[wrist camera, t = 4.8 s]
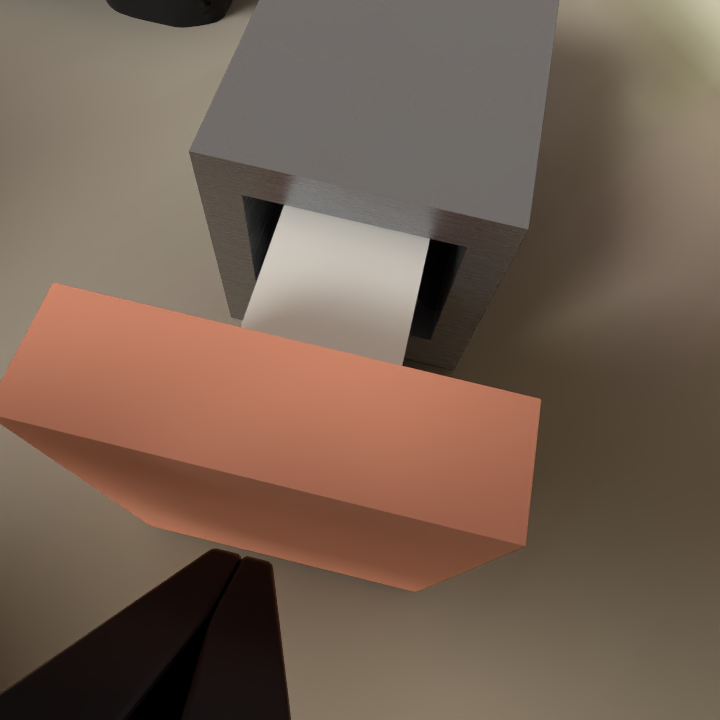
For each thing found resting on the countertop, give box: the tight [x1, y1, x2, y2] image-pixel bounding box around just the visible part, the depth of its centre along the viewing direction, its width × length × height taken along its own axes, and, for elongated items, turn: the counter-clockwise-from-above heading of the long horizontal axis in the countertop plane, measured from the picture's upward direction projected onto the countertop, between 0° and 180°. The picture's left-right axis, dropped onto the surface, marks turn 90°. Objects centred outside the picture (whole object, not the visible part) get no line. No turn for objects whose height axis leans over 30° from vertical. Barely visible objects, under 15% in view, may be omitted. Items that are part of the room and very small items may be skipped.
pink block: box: [0, 205, 541, 592], centre depth 14 cm, size 10×7×9 cm, turn 167°
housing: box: [189, 0, 559, 370], centre depth 17 cm, size 10×7×7 cm
